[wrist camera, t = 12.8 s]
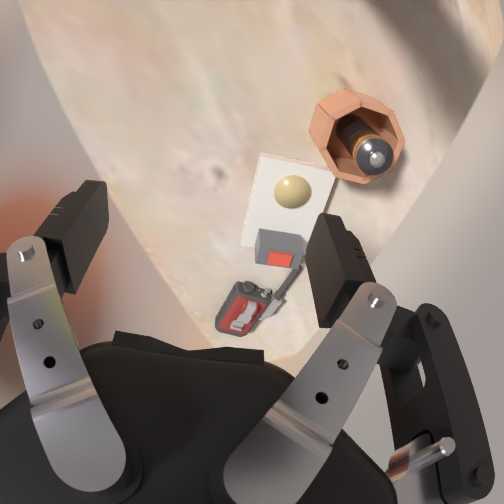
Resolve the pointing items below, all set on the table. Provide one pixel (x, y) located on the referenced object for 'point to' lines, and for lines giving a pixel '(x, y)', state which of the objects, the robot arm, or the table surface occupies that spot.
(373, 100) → the cup
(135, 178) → the table surface
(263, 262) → the tester
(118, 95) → the table surface
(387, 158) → the cell
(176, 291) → the table surface
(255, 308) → the walkie-talkie
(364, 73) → the table surface
